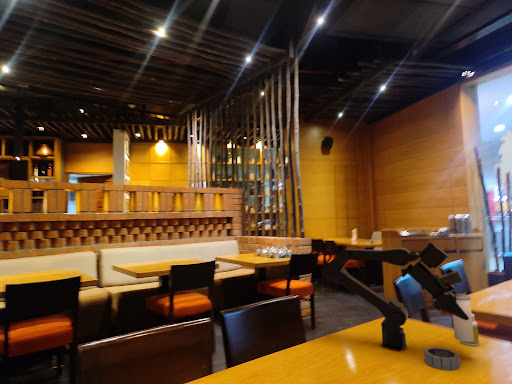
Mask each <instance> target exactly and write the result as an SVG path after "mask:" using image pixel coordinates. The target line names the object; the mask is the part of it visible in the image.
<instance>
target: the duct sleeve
mask: <svg viewBox="0 0 512 384" xmlns="http://www.w3.org/2000/svg"><path fill="white" fill-rule="evenodd" d="M453 295H454V296H455V295H456V302H457V304H458V305H459V306H460V307H461V309H462V310H463V311H464V312H465V313H466V315H467V316H468V317H469V319H468V320H464V319H462V318H460V317H457V316H455V315H453V314H452V319H453V334H454V339H455V340H457V341H460V342H461V341H466V342H471V341H473V340H474V339H473V326H472V314H473V313H472V304H471V303H472V301H471V299H472V298H471V295H469V294H464V293H456V294H453Z"/></svg>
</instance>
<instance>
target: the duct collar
mask: <svg viewBox="0 0 512 384" xmlns="http://www.w3.org/2000/svg"><path fill="white" fill-rule="evenodd" d="M460 356H461V355H460V354H459V353H458V352H457V351H454V350H452V349H450V348H449V349H448V348H444V347H438V346H437V347H436V346H435V347H434V346H433V347H426V348H425V349H423V357H424V358H423V359H424V362H425V364H426V365H428V366H430V367H431V368H435V369H439V370H443V371H455V370H456V371H457V370H459V369H460V367H461V358H460Z"/></svg>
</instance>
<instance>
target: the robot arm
mask: <svg viewBox="0 0 512 384" xmlns="http://www.w3.org/2000/svg"><path fill="white" fill-rule="evenodd" d="M419 258H420V259H419ZM449 258H450V257H449V255H448V254H447V253H446V252H445V251H444V250H443V249H442V248H440V247H438V246H437V245H435V244H434V243H433V242H429V243H428V244H427V245H426V246H425V248H423V250H421V251H420V252H417V251H410V250H409V249H408V248H406V247H403V246H402V247H394V248H389V249H360V248H358V249H357V248H343V249H342V250H341V251H340V252H339V254H337V255H336V256H335V257H334V258H332V259H331V261H329V262H326V263H324V264H323V265H322V266H321V273H322V276H323V277H325V278H326V279H328V280H330V281H331V282H332V281H333V282H334V283H338V284H339V285H343V286H344V287H346V288H347V289H348V290H350V291H352V292H353V293H354V294H355V295H357V296H358V297H360V298H362V299H363V301H364V300H365V301H366V302H367V303H369V304H371V305H372V306H373V307H374V308H376V309H377V310H378V311H379V312H380V314H381V315H382V316H383V317H384V319H382V321H381V324H380V325H381V341H382V343H381V344H380V347H382V348H386V349H389V350H390V349H391V350H394V351H398V352H400V351H401V350H403V349H404V348H406V347H407V343H406V342H407V341H406V337H407V336H406V333H405V331H404V330H405V329H404V327H401V326H404V324H406V322H407V320H408V318H409V311H408V309H407V307H406V306H404V305H405V304H404V303H402V302H400V301H399V300H398V299H396V298H395V297H393V296H392V297H391V298H390V299H387V298H385V297H383V296H382V295H380V294H379V293H377V292H376V291H374V290H373V289H372V288H370V287H368V286H367V285H365V284H364V283H362V282H361V281H360V280H358V279H356V278H355V277H354V276H353V275H351V274H350V273H349V272H348V271H347V269H346V268H345V267H344V266H345V265H347V263H348V262H349V261H350V260H351V261H353V260H354V261H369V262H371V261H372V262H373V261H374V262H382V263H387V264H390V265H394V266H399V267H402V268H401V269H400V271H401V277H402V278H405V277H406V276H407V275H408V276H409V277H411V278H412V280H414V281H415V282H416V283H417V284H418V285H419V287H420V289H422V290H423V291H425V292H426V293H427V294H428V295H430V296H431V299H432V300H433V301H432V303H433V305H432V306H433V307H434V308H435V309H436V310H437V311H438V312H440V311H442V312H445V313H448V314H451V315H452V316H453V315H455V316H457V317H460V318H462V319H464V320H468V319H469V317H468V316H467V315H466V313H465V312H464V311H463V310H462V309H461V307H460V306H459V305H458V304H457V302H456V295H455V296H454V295H453V294H457V290H456V289H455V286H454V285H455V284H459V283H462V282H463V281H464V280H463V278H462V276H461V275H460V273H459V271H458V269H456V270H453V269H452V268H448V269H445V273H444V274H443V275H440V276H439V275H438V274H437V273H433V272H432V271H431V270H430V269H433V268H434V270H435V269H437V268H438V267H439V266H441V265H442V264H443V263H444V262H445V261H446V260H447V259H449ZM418 259H419V260H418ZM417 260H418V261H417ZM415 261H417V262H416V263H415V264H414V263H412V262H415ZM410 262H411V263H410ZM409 263H410V264H409ZM406 265H407V266H406ZM404 266H406V267H404ZM403 267H404V268H403ZM452 290H453V291H452Z"/></svg>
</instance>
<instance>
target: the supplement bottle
mask: <svg viewBox="0 0 512 384" xmlns="http://www.w3.org/2000/svg"><path fill="white" fill-rule="evenodd" d="M475 317H476V316H475V314H474V313H472V326H473V339H474V340H473V341H471V342H466V341H460V343H461V344H463V345H466V346H473V347H475V346H476V347H477V346H479V344H480V341H479V340H480V339H479V329H478V328H479V327H478V322H477V321H476V320H475Z"/></svg>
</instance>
